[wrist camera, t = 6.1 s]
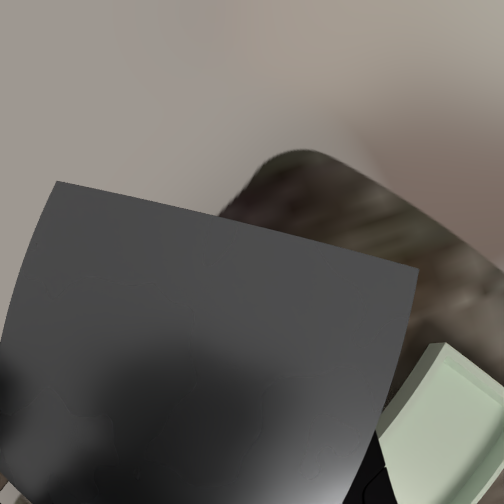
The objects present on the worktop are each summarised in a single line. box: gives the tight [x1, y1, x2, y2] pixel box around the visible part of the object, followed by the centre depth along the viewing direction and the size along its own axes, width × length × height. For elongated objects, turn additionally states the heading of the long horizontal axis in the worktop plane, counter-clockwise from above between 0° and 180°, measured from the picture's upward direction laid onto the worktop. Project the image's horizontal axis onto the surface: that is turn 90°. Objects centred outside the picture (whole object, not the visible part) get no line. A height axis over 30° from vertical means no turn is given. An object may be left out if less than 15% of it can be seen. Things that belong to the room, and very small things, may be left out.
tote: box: [375, 342, 504, 504], centre depth 16 cm, size 15×11×3 cm
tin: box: [0, 181, 419, 504], centre depth 9 cm, size 6×6×12 cm
